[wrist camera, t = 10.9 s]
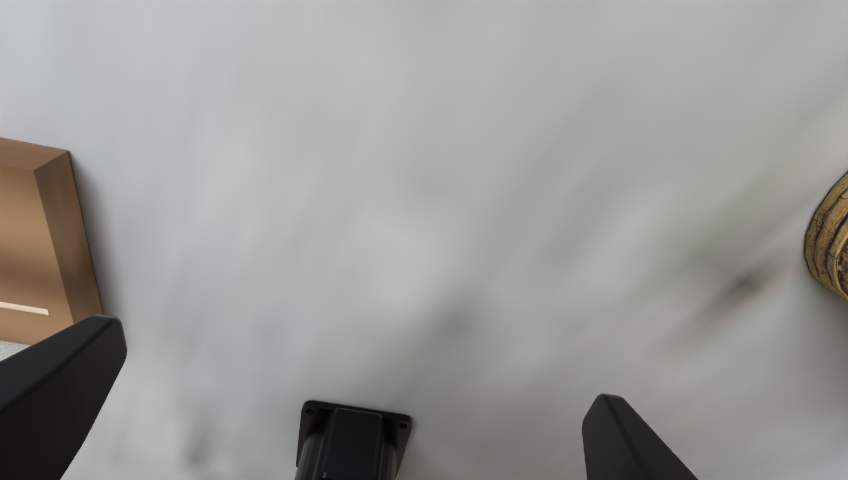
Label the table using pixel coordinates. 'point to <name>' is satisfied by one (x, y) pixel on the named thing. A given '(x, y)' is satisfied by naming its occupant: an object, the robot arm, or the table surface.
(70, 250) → the board
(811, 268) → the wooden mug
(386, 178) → the table surface
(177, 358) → the table surface
